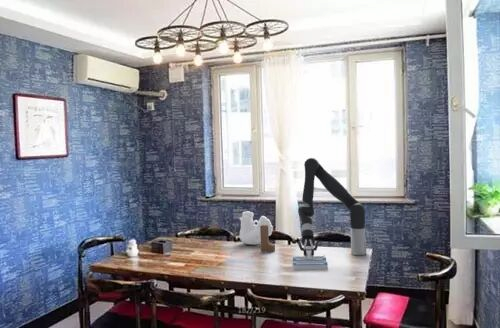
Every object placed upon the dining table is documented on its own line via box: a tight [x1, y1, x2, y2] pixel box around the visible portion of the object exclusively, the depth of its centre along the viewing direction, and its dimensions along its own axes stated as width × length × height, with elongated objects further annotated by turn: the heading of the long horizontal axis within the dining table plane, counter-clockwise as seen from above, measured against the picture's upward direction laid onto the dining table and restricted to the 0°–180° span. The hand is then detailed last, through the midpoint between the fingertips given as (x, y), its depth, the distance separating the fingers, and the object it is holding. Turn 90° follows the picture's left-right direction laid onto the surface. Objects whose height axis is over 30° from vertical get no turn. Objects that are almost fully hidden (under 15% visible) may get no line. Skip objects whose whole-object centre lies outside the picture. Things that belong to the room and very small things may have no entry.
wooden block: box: [260, 225, 276, 253], centre depth 287 cm, size 9×4×18 cm, turn 66°
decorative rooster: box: [238, 210, 274, 246], centre depth 308 cm, size 25×16×25 cm, turn 67°
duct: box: [292, 255, 329, 271], centre depth 253 cm, size 20×20×4 cm
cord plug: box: [306, 246, 312, 259], centre depth 257 cm, size 4×4×9 cm
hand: (309, 255), depth 255 cm, fingers closed on cord plug, 3 cm apart
